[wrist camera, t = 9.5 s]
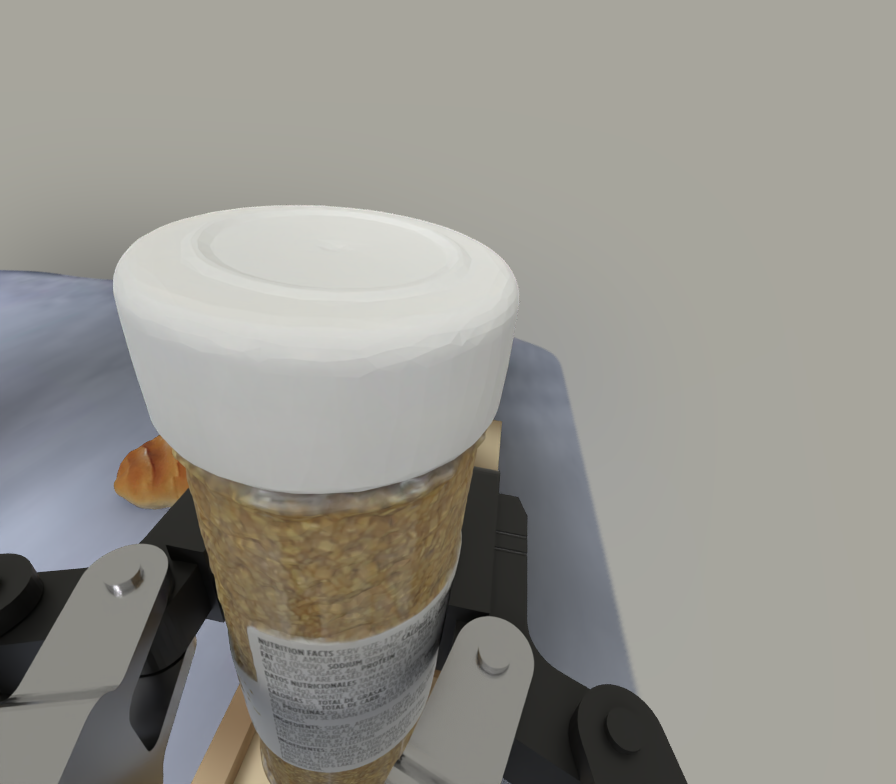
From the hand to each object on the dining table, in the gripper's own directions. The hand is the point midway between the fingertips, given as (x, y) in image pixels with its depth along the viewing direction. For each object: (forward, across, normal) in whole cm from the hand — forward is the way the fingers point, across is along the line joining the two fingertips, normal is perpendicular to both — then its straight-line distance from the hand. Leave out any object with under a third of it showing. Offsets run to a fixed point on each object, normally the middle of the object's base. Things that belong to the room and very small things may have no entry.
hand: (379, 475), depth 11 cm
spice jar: (-3, 0, +7) cm, 8 cm away
